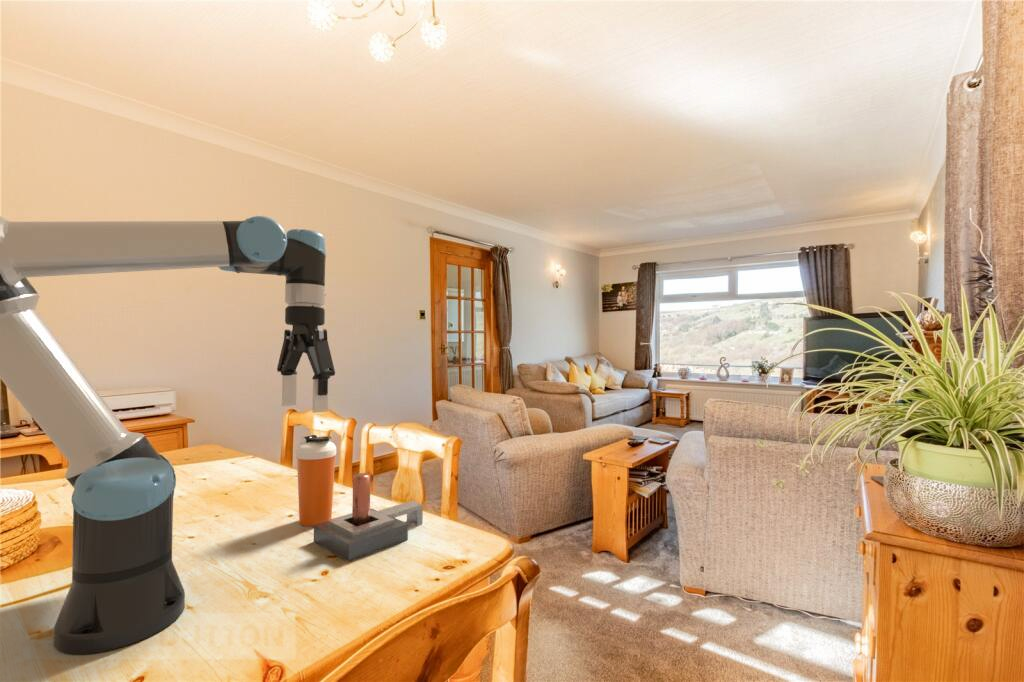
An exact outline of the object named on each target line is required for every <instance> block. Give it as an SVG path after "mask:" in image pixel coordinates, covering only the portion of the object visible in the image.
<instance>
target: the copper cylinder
mask: <svg viewBox="0 0 1024 682" xmlns="http://www.w3.org/2000/svg"><path fill="white" fill-rule="evenodd" d="M371 475H372V474H370V473H368V472H367V473H366V472H361V473H356V474H353V475H352V510H351V511H352V512H351V513H352V524H353V525H355V526H360V525H363V524H366V523H370V509H371Z"/></svg>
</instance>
